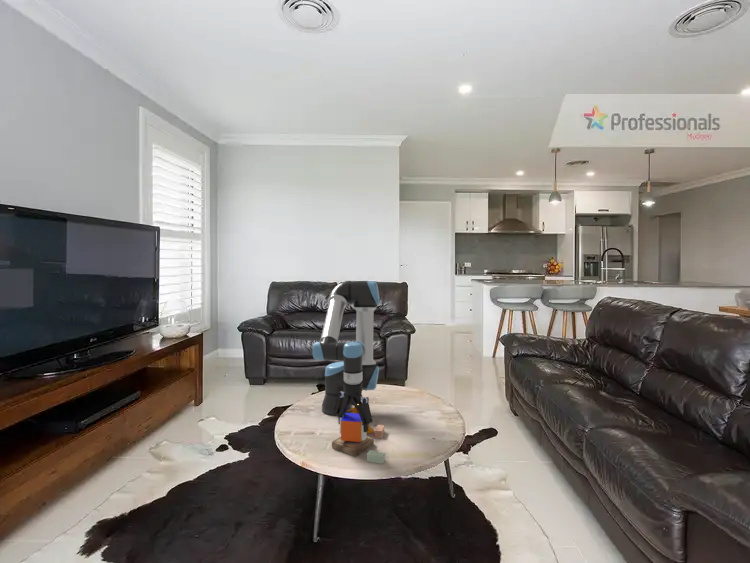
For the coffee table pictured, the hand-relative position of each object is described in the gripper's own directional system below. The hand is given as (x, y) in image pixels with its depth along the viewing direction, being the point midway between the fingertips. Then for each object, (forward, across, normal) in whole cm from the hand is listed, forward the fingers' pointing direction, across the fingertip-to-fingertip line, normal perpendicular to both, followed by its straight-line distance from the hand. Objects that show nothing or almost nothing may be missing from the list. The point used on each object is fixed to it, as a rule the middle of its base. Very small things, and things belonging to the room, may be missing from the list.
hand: (353, 435), depth 157 cm
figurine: (+4, -6, +14) cm, 16 cm away
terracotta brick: (+4, +3, +15) cm, 16 cm away
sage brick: (+4, +14, -4) cm, 15 cm away
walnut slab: (+4, 0, 0) cm, 4 cm away
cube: (+1, 0, 0) cm, 1 cm away
